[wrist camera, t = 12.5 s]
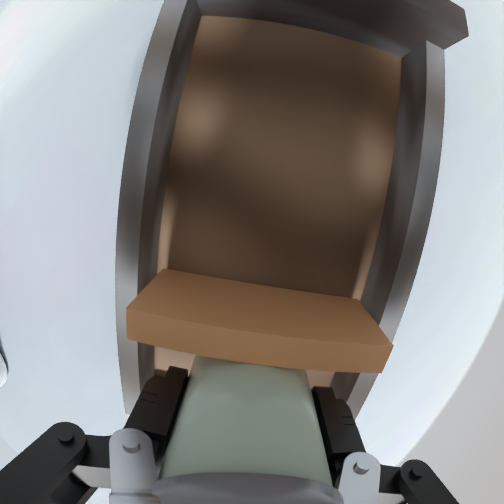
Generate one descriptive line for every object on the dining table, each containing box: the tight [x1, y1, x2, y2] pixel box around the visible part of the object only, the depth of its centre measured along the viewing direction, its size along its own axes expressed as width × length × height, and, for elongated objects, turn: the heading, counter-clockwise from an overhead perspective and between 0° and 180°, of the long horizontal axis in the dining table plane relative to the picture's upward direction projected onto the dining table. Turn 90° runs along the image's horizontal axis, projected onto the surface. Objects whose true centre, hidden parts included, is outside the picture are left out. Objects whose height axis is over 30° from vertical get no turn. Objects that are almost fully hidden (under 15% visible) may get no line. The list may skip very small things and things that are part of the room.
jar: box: [152, 355, 344, 504], centre depth 9 cm, size 5×5×9 cm
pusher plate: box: [126, 268, 393, 373], centre depth 11 cm, size 1×9×4 cm, turn 80°
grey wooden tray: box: [115, 0, 469, 420], centre depth 11 cm, size 22×12×5 cm, turn 171°
